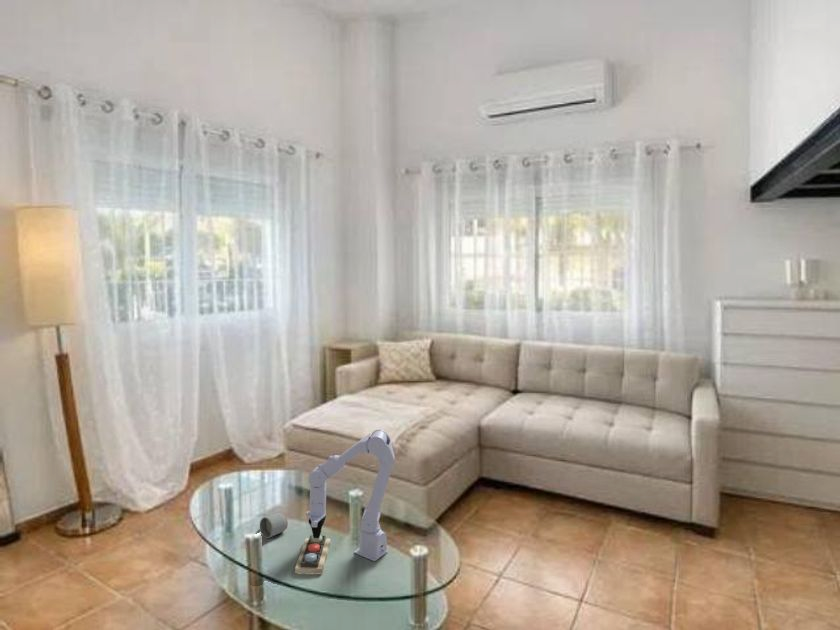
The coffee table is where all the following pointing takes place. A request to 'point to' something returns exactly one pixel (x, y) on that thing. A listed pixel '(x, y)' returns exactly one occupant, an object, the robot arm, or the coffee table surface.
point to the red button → (314, 547)
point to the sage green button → (316, 539)
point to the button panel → (321, 557)
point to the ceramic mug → (273, 524)
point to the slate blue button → (310, 558)
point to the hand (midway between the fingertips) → (316, 537)
